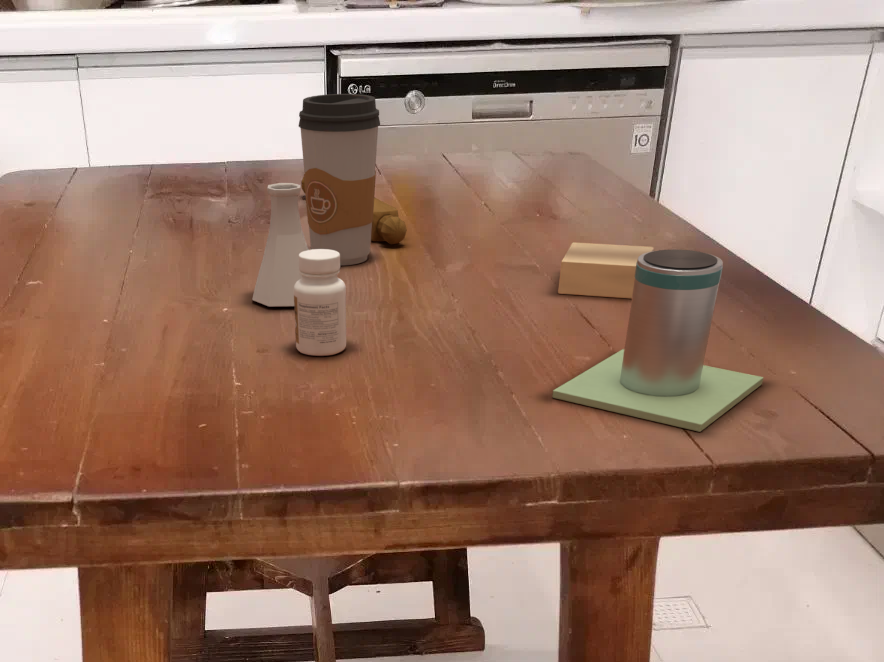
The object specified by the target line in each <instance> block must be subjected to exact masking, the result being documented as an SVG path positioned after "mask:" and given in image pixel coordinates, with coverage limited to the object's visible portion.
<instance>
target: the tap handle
mask: <svg viewBox="0 0 884 662" xmlns="http://www.w3.org/2000/svg"><path fill="white" fill-rule="evenodd" d="M300 186H301V189H302V192H303V193H304V194H305V184H304V176H302V179H301V181H300ZM399 216H400V215H399V211H398V208H397V207H394V206H392V205H390V204H388V203H387V202H385V201H383V200H381V199H379V198H377V197H375V196H374V210H373V222H372V229H371V242H387V243H388V244H389V245H396V244H397V245H398V244H400V243H401V242H402V241H403V240H404V239H405V238H406V234H407V225H406V222H405V221H404V220H403V219H402V218H400V217H399Z"/></svg>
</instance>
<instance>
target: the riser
mask: <svg viewBox="0 0 884 662" xmlns="http://www.w3.org/2000/svg"><path fill="white" fill-rule="evenodd" d="M654 249H655V248H654V246H643V245H642V246H641V245H625V244H610V243H609V244H607V243H591V242H590V243H589V242H575V241H574V242H572V243H571V244H570V245H569V248H568V249H567V251H566V253H565V254H564V256H563V258H562V259H561V262H560V271H559V281H558V288H557V289H558V290H557V294H561V295H574V296H588V297H602V298H618V299H629V300H632V294H633V287H634V280H635V277H634V276H635V269H636V263H637V260H638V257H639V256H640V255H642V254H644V253H647V252H652V251H654Z"/></svg>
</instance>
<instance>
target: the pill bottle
mask: <svg viewBox="0 0 884 662" xmlns="http://www.w3.org/2000/svg"><path fill="white" fill-rule="evenodd" d="M340 272H341V265H340V254H339V252H337V251H334V250H329V249H312V250H311V249H309V250H307V251H303V252H301V253H300V254H299V274H301V276H302V278H301V279H299V280H298V281H297V282H296V283H295V285H294V306H293V307H294V330H295V331H294V333H295V334H294V335H295V348H296V349H297V351H298V352H300V353H301V354H303V355H306V356H307V355H308V356H314V357H316V356H317V357H324V356H333V355H336V354H339V353H341V352H343V351H344V350H345V349H346V347H347V287H346V283H345V281H343V279H341V278H339V277H338V275H339V274H340Z"/></svg>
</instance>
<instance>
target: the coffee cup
mask: <svg viewBox="0 0 884 662" xmlns="http://www.w3.org/2000/svg"><path fill="white" fill-rule="evenodd" d="M298 115H299V116H298V117H299V121H298V128H300V137H301V139H300V140H301V149H302V163H303V177H304V184H305V193H304V194H305V206H306V216H307V224H308V232H309V245H310V250H312V249H329V250H334V251H337V252H339V254H340V266H351V265H357V264H362V263H364V262H366V261H367V260H368V255H369V254H371V242H372V241H371V229H372V222H373V210H374V197H375V194H376V179H377V171H376V165H377V149H378V134H379V133H378V132H379V126H380V125H381V120H380V109H378V108H377V103H376V97H375V96H373V95H368V94H357V93H331V94H319V95H312V96H308V97H305V98H303V99H302V110H300V111H299V114H298Z"/></svg>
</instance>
